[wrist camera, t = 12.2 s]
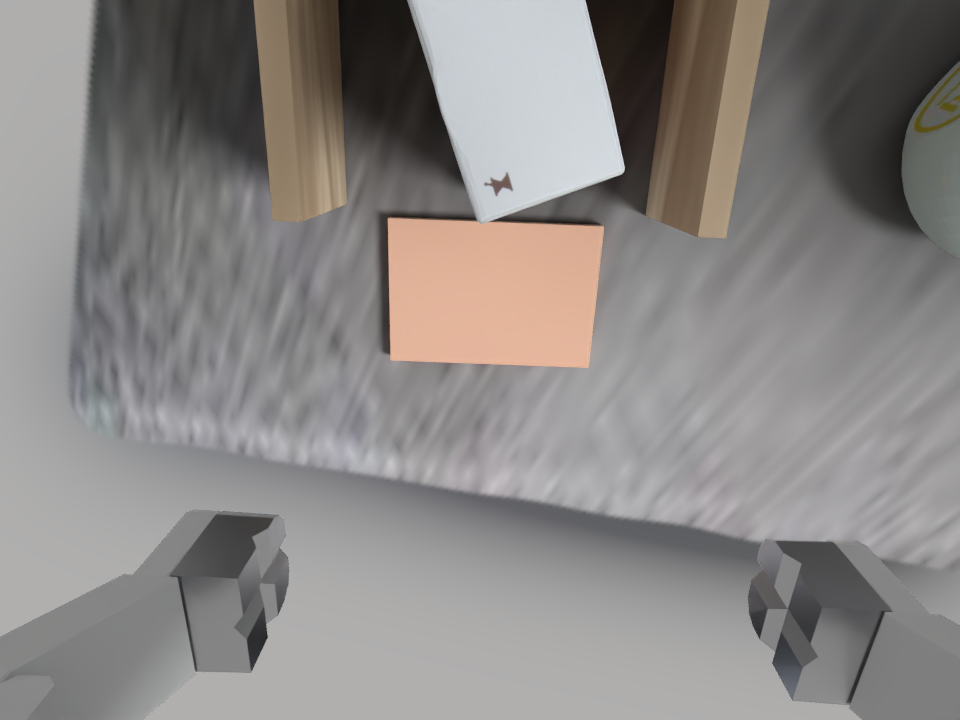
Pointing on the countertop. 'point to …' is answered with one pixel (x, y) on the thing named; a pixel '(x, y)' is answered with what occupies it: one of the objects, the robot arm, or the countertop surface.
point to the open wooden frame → (680, 132)
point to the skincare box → (520, 98)
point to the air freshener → (935, 164)
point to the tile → (492, 291)
